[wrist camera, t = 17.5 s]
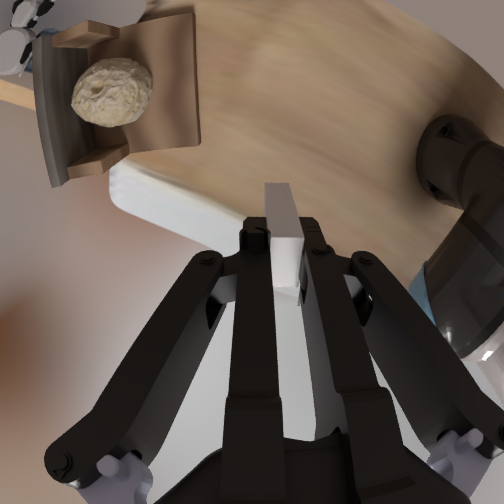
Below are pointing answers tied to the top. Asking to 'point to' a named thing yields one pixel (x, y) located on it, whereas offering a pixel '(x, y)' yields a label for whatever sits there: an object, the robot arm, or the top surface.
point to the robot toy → (21, 35)
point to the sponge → (112, 92)
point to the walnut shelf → (127, 135)
